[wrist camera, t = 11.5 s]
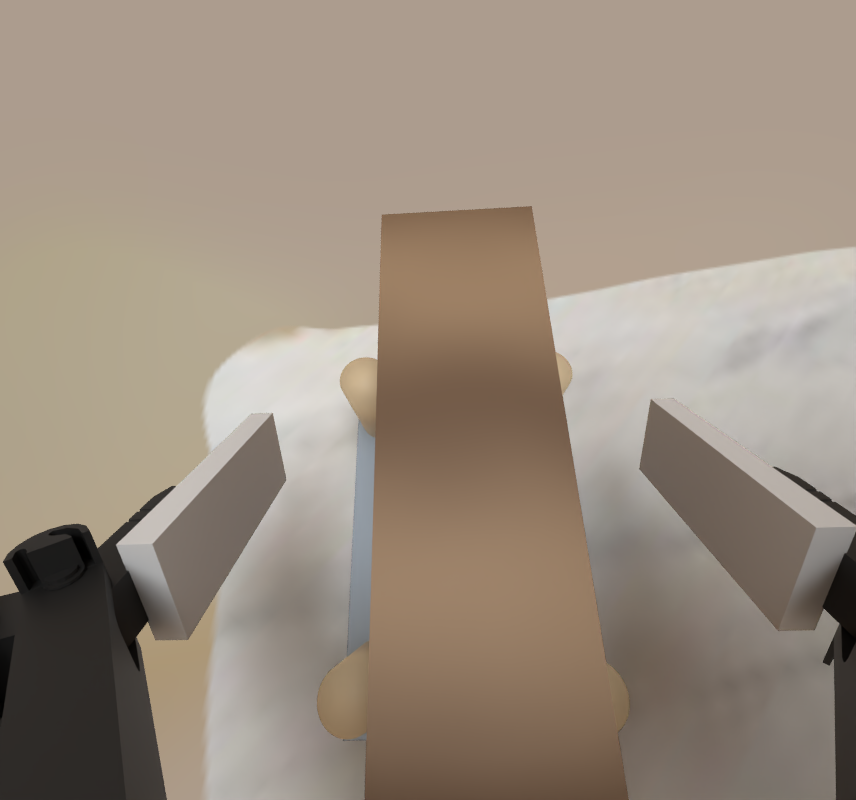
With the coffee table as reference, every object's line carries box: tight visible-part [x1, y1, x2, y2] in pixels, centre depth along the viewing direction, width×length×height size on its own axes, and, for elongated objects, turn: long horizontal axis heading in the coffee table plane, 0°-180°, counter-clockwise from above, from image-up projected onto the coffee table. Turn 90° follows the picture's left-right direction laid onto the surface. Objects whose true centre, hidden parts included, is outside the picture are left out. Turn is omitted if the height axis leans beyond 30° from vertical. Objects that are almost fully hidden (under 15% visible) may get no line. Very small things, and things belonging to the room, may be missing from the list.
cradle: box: [317, 352, 630, 741], centre depth 18 cm, size 16×10×6 cm, turn 1°
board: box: [365, 206, 629, 800], centre depth 14 cm, size 14×4×12 cm, turn 1°
